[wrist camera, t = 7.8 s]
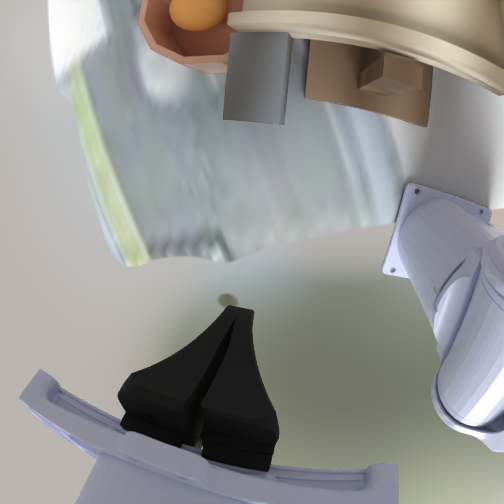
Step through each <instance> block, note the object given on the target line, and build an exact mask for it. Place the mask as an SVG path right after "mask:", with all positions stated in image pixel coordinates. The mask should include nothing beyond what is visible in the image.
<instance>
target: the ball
mask: <svg viewBox="0 0 504 504" xmlns="http://www.w3.org/2000/svg"><path fill="white" fill-rule="evenodd" d="M227 11H228V0H172V1H171V3H170V7H169V12H170V16H171V19H172V20H173V22H174V23H175V24H176V25H177V26H179V27H180V28H182V29H185V30H188V31H204V30H208V29H210V28H213V27H215V26H216V25H218V24H219V23H220V22H221V21H222V20H223V19H224V17H225V16H226V14H227Z"/></svg>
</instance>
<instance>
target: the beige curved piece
mask: <svg viewBox="0 0 504 504" xmlns="http://www.w3.org/2000/svg"><path fill="white" fill-rule="evenodd" d="M227 25H229V26H230V27H232V28H234V29H235V30H237V31H238V32H240V33H231V37H230V46H229V56H228V66H227V76H226V87H225V99H224V111H223V120H238V121H250V122H260V123H269V124H278V125H284V120H285V111H286V101H287V92H288V82H289V72H290V62H291V51H292V40H293V38H302V39H314V40H323V41H331V42H339V43H345V44H351V45H357V46H362V47H367V48H372V49H376V50H381V51H385V52H389V53H393V54H397V55H400V56H404V57H407V58H411V59H414V60H417V61H420V62H423V63H426V64H429V65H432V66H435V67H437V68H440V69H443V70H445V71H448V72H450V73H453V74H455V75H457V76H460V77H462V78H464V79H467V80H469V81H471V82H473V83H475V84H477V85H479V86H481V87H483V88H485V89H487V90H489V91H491V92H493V93H495V94H497V95H498V96H501V95H504V0H244V2H243V10H242V12H231V13H228V21H227Z"/></svg>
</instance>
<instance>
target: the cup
mask: <svg viewBox="0 0 504 504" xmlns="http://www.w3.org/2000/svg"><path fill="white" fill-rule="evenodd" d="M171 1H172V0H142V4H141V9H140V14H139V20H138V23H139V24H138V25H139V27H140V29H141V31H142V33H143V35H144V37H145V39H146V41H147V43H148V45H149V47H150V49H151V50H153V51H155V52H157V53H159V54H161V55H163V56H165V57H167V58H169V59H171V60H174V61H176V62H177V63H179V64H182V65H185V66H188V67H191V68H194V69H197V70H199V71H202V72H205V73H227V66H228V56H229V46H230V37H231V33H240V32H238V31H237V30H235V29H234V28H232V27H230V26H229V25H227V21H228V13H231V12H242V10H243V2H244V0H228V11H227V14H226V16H225V17H224V19H223V20H222V21H221V22H220V23H219V24H218V25H216V26H215V27H213V28H210V29H208V30H204V31H188V30H185V29H182V28H180V27H179V26H177V25H176V24H175V23H174V22H173V20H172V19H171V16H170V12H169V7H170V3H171Z"/></svg>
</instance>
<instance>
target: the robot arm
mask: <svg viewBox="0 0 504 504" xmlns="http://www.w3.org/2000/svg"><path fill="white" fill-rule="evenodd" d="M417 188H418V189H419V191H418V193H415V189H417ZM480 209H481V212H480V213H479V210H480ZM491 215H492V212H491V210H490V209H489V208H487V207H484V206H481V205H479V204H476V203H473V202H471V201H468V200H465V199H462V198H459V197H456V196H454V195H451V194H448V193H444V192H441V191H438V190H435V189H432V188H428V187H425V186H422V185H418V184H415V183H408V184H407V185H406V187H405V190H404V194H403V198H402V202H401V206H400V210H399V213H398V217H397V220H396V224H395V227H394V231H393V234H392V237H391V240H390V243H389V247H388V250H387V253H386V256H385V259H384V262H383V264H382V271H383V273H385V274H388V275H394V276H400V277H406V278H410V280H411V282H412V284H413V286H414V288H415V290H416V293H417V295H418V297H419V299H420V301H421V303H422V306H423V308H424V310H425V312H426V315H427V317H428V319H429V322H430V324H431V326H432V329H433V331H434V334H435V337H436V339H437V341H438V346H437V351H438V354H439V357H440V360H441V362H442V363H441V365H440V367H439V369H438V370H437V372H436V373H435V376H434V378H433V383H432V400H433V403H434V407H435V409H436V411H437V413H438V415H439V416H440V418H441V419H442V420H443V421H444V422H445V423H446V424H447V425H448V426H450V427H451V428H452V429H454V430H456V431H458V432H462V433H466V434H469V435H472V436H474V437H477V438H478V439H480V440H481V441H483V442H484V443H485V444H486V445H487V446H488V447H489V448H490V449H491V450H492V451H494V452H504V234H503V233H502V232H501V231H500V230H499V229H497V228H496V227H495V226H494V225H493V224H491V223H490V219H491ZM391 268H394V270H392V271H391V270H390V269H391ZM253 319H254V311H253V310H250V309H245V308H240V307H235V306H231V305H229V306H227V307H226V308H225V310H224V311H223V312H222V313H221V314H220V316H219V317H218V318H217V319H216V320H215V321H214V322H213V323H212V324H211V325H210V326H209V327H208V328H207V329H206V330H205V331H204V332H203V333H202V334H200V335H199V336H198V337H197V338H196V339H195V340H193V341H192V342H191V343H189V344H188V345H187V346H185V347H184V348H183V349H181V350H180V351H178V352H176V353H175V354H173V355H172V356H170V357H168V358H166V359H165V360H162V361H160V362H159V363H156V364H154V365H152V366H150V367H147V368H145V369H142V370H139V371H137V372H134V373H131V375H130V376H129V377H128V378H127V380H126V381H125V382H124V384H123V386H122V387H121V389H120V391H119V392H118V399H119V401H120V403H121V405H122V406H123V408H124V409H125V411H126V413H125V415H124V417H123V418H122V420H120V419H118V418H116V417H114V416H112V415H110V414H108V413H106V412H104V411H102V410H100V409H98V408H96V407H94V406H92V405H90V404H88V403H87V402H85V401H83V400H81V399H80V398H78V397H76V396H75V395H73V394H71V393H70V392H68V391H66V390H65V389H63V388H61V387H60V385H59V383H58V382H57V381H56V380H55V379H54V378H53V377H52V376H51V375H49V374H48V373H46V372H45V371H43V370H41V369H40V370H39V371H38V372H37V374H36V375H35V376H34V378H33V379H32V380H31V381H30V383H29V384H28V386H27V387H26V388H25V389H24V391H23V392H22V394H21V395H20V396H19V399H20V400H21V401H22V402H23V403H24V404H25V405H26V406H27V408H28V409H29V410H30V411H31V412H32V413H33V414H34V415H35V416H36V417H37V418H38V419H39V420H41V421H42V422H43V423H44V424H46V425H47V426H48V427H50V428H51V429H53V430H54V431H55V432H56V433H58V434H59V435H60V436H62V437H63V438H65V439H66V440H68V441H69V442H70V443H72V444H73V445H75V446H76V447H78V448H79V449H81V450H82V451H84V452H85V453H87V454H89V455H90V456H92V457H94V458H95V459H97V461H96V463H95V465H94V467H93V469H92V471H91V473H90V475H89V477H88V479H87V481H86V483H85V485H84V487H83V489H82V491H81V493H80V495H79V497H78V499H77V501H76V503H75V504H398V463H396V462H394V463H382V464H374V465H371V466H369V467H368V468H367V469H361V470H360V469H359V470H332V469H311V468H298V467H288V466H280V465H272V464H271V460H272V455H273V453H274V447H275V445H276V443H277V441H278V439H279V425H278V420H277V416H276V411H275V409H274V407H273V405H272V403H271V401H270V399H269V397H268V395H267V392H266V390H265V387H264V384H263V382H262V379H261V376H260V373H259V369H258V365H257V361H256V357H255V351H254V344H253V334H252V327H253ZM202 446H203V450H201V448H202Z"/></svg>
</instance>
